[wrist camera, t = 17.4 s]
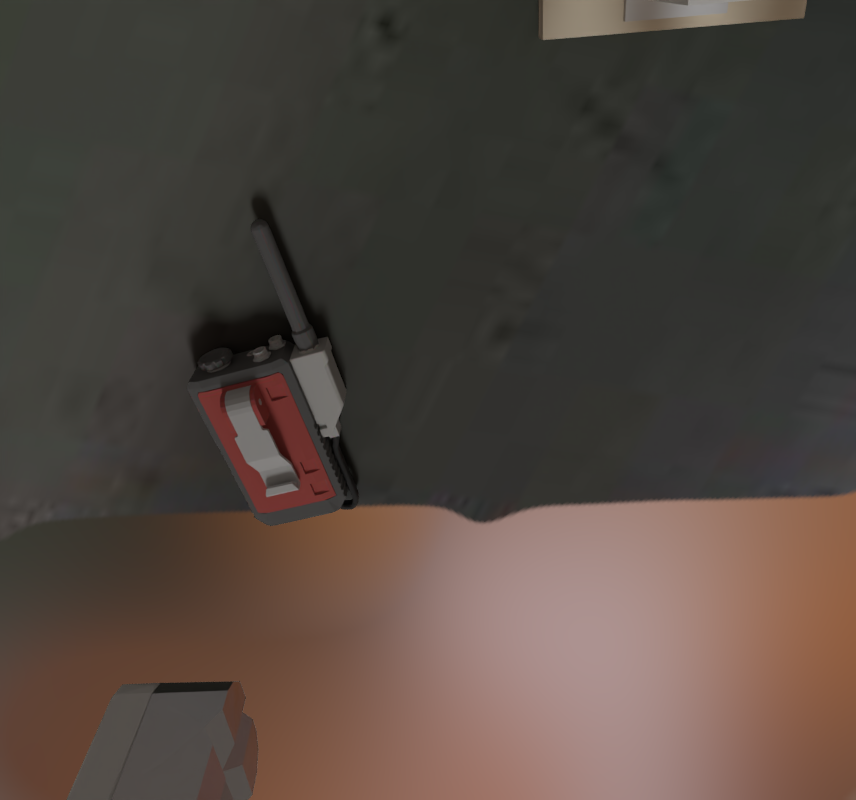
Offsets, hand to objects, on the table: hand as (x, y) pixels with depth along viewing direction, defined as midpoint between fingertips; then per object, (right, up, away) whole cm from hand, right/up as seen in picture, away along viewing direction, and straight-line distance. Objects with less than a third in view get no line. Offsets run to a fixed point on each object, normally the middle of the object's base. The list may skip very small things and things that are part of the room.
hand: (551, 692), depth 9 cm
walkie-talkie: (-11, +5, +36) cm, 38 cm away
